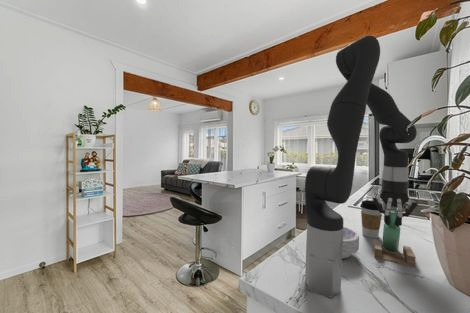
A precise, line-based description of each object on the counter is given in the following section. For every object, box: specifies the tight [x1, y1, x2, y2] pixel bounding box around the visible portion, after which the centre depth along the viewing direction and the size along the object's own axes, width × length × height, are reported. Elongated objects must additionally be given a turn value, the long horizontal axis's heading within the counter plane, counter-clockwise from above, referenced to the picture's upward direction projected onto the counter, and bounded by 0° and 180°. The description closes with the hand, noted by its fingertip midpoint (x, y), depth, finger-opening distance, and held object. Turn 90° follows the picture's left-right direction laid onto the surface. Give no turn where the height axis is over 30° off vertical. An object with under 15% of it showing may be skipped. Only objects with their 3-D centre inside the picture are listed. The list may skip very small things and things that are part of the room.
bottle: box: [381, 210, 401, 252], centre depth 79 cm, size 5×5×15 cm
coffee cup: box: [360, 200, 384, 239], centre depth 92 cm, size 8×8×15 cm
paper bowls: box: [342, 226, 360, 260], centre depth 77 cm, size 15×15×8 cm
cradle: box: [373, 239, 416, 268], centre depth 75 cm, size 8×11×3 cm
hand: (392, 225), depth 77 cm, fingers closed on bottle, 2 cm apart
